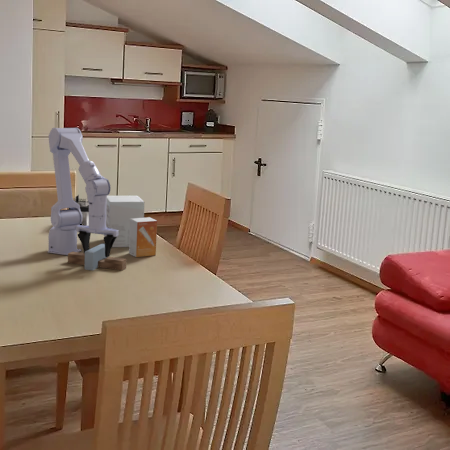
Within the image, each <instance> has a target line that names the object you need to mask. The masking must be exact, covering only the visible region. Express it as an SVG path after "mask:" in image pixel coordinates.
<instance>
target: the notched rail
mask: <svg viewBox="0 0 450 450" xmlns="http://www.w3.org/2000/svg"><path fill="white" fill-rule="evenodd" d="M67 263H68V264H73V265H74V264H75V265H80V266H81V265H82V266H85V254H84V252H70V253H68V255H67ZM98 268H103V269H108V270H115V271H117V270H118V271H124V270H126V269H127V258H121V257H114V256H109V257H107V258H105V259H102V260H100V261H98Z"/></svg>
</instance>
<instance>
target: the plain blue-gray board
mask: <svg viewBox="0 0 450 450" xmlns="http://www.w3.org/2000/svg"><path fill="white" fill-rule="evenodd" d="M108 257H110V256H108ZM105 258H107V257H105V243H99V244H98V245H96V246H94V247H92V248H89V250H87V251H85V265H84V270H87V271H94V270H95V271H96V270H97V269H99V267H98V261H100V260H102V259H105Z"/></svg>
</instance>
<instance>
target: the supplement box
mask: <svg viewBox="0 0 450 450" xmlns="http://www.w3.org/2000/svg"><path fill="white" fill-rule="evenodd" d="M134 218H145V201H144V199H143V198H141V197H140V196H139V195H107V207H106V227H107V228H111V229H115V230H119V235H118V236H117V238H116V239H115V241H114V243H113V245H112V248H129V232H130V219H134ZM103 236H104V237H105V236H107V235H103ZM104 237H103V238H104Z"/></svg>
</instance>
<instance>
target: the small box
mask: <svg viewBox="0 0 450 450" xmlns="http://www.w3.org/2000/svg"><path fill="white" fill-rule="evenodd" d="M157 234H158V220H157V219H154V218H152V217H150V216H148V217H144V218H134V219H130V232H129V247H128V254H129V255H131V256H133V257H135V258H140V257H142V258H143V257H151V256H156V255H157V236H158V235H157Z"/></svg>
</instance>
